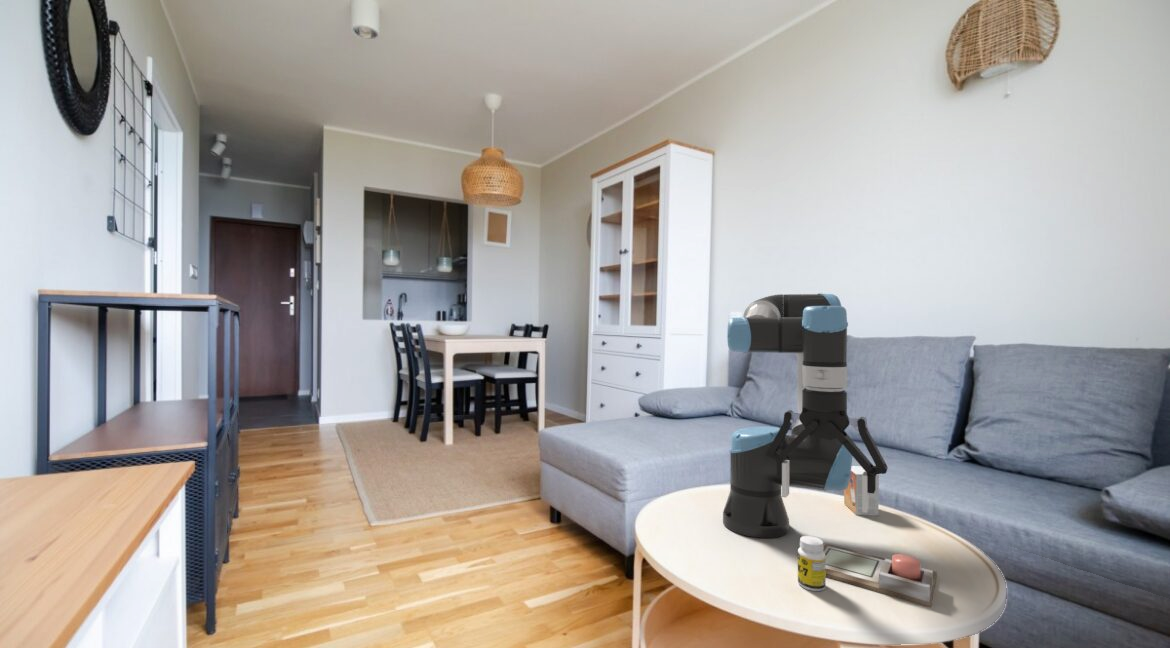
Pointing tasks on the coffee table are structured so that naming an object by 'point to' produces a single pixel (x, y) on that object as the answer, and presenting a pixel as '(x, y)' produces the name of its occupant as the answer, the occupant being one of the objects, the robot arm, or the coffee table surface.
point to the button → (906, 567)
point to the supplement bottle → (811, 564)
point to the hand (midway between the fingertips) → (823, 502)
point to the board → (877, 575)
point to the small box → (860, 493)
